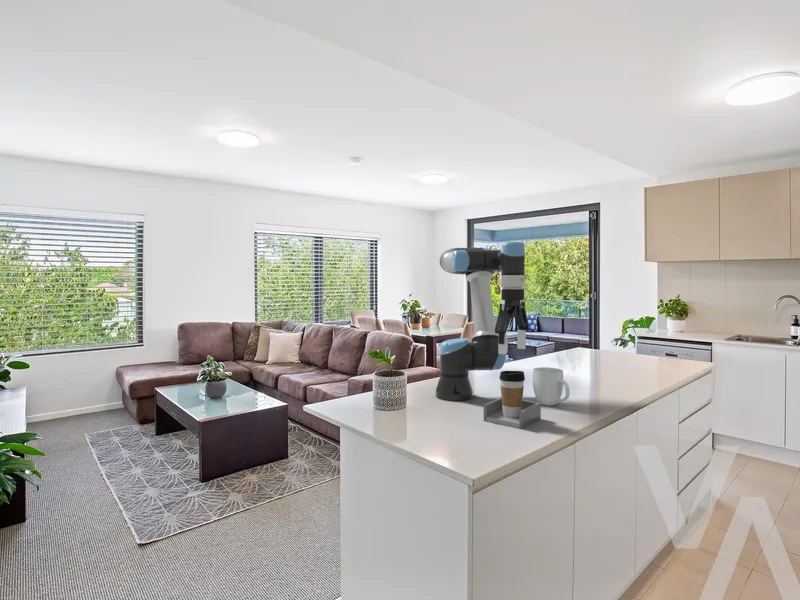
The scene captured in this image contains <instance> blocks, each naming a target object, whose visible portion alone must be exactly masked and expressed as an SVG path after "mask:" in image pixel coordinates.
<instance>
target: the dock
mask: <svg viewBox="0 0 800 600" xmlns="http://www.w3.org/2000/svg"><path fill="white" fill-rule="evenodd" d="M541 407H542V405H541V403H538V401H537V402H536V401H531V400H526V399H522V408H521V411H519V417H518V418H509V417H505V416H503V408H502V397H499V398H496V399H493V400H492V401H489V402H486V403H484V404H483V421H484V422H487V423H493V424H495V425H496V424H497V425H502V426H507V427H512V428H515V429H520V430H523V429H525V428H527V427H530V426H531V425H532V424H534V423H536V422H538V421H540V420H541V418H542V417H541V416H542V413H541V412H542V408H541Z"/></svg>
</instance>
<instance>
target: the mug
mask: <svg viewBox="0 0 800 600" xmlns="http://www.w3.org/2000/svg"><path fill="white" fill-rule="evenodd" d="M532 385H533V391H534V396H535V399H536V400H537V402H538V403H541V406H547V407H551V406H552V407H554V406H557V405H558V403H559V402H564V401H567V400H568V399H569V397H570V393H571V392H570V386H569V384H568V382H567V381H566V380H565V379H564V370H563V369H560V368H556V367H548V366H546V367H545V366H544V367H543V366H541V367H535V368H534V367H533V369H532ZM563 388H565V395H564V397H563V398H562V394H563Z"/></svg>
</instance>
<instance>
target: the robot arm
mask: <svg viewBox="0 0 800 600" xmlns="http://www.w3.org/2000/svg"><path fill="white" fill-rule="evenodd" d="M525 257H526V250H525V243H524V242H521V241H506V242H503V243H502V244H501V249H491V248H488V247H454V248H450V249H447V250H444V252H442V253H441V254H440V257H439V265H440V267H441V269H442V270H443V271H444V272H446V273H448V274H453V275H465V280H466V281H468V282H469V285H470V296H471V308H472V318H473V320H472V321H473V330H474V331H473V332H474V335H473V336H472V337H471V341H469V338H466V337H465V338H464V337H461V338H460V337H459V338H451V339H446V340H444V341H442V342H441V343H440V346H439V352H438V353H439V354H438V355H439V380H438V381H437V384H436V385H437V386H436V389H435V397H436V398H437V399H440V400H445V401H456V402H458V401H467V400H470V399H472V398H473V397H474V391H473V387H472V385H471V382H470V379H469V373H470V371H497V370H498V371H499V370H501V369H503V367H504V366H505V361H506V358H507V357H506V356H507V354H508V334H507V331H508V328H509V325H510V323H511V321H512V319H513V318H514V320H515V323H516V326H517V328H518V329H517V330H516V331H517V334H516V335H517V338H516V339H517V341H516V343H517V344H516V345H517V346H516V348H517V349H519V350H520V349H521V350H526V347H527V344H526V341H527V340H526V338H527V337H526V336H527V334H526V333H527V331H529V328H530V324H529V319H528V316H527V310H526V302H525V301H524V300H525V290H524V288H525V281H526V278H525V266H526V264H525ZM496 272H501V281H500V283H501V288H502V289H501V290H500V292H501V294H500V298H501V300H502V301H504V303H499V310H498V314H497V319H496V322H495V316H494V308H493V297H492V289H491V279H492V278H493V277H494V274H496Z"/></svg>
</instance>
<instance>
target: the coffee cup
mask: <svg viewBox="0 0 800 600" xmlns="http://www.w3.org/2000/svg"><path fill="white" fill-rule="evenodd" d="M499 380H500V394H501V397H502V408H503V416H505V417H509V418H518V417H519V411H521V408H522V400H524V399H523V397H524V384H525V383H524V381H526V376H525V371H523V370H522V371H521V370H502V371H500V374H499ZM501 397H500V398H501Z"/></svg>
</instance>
